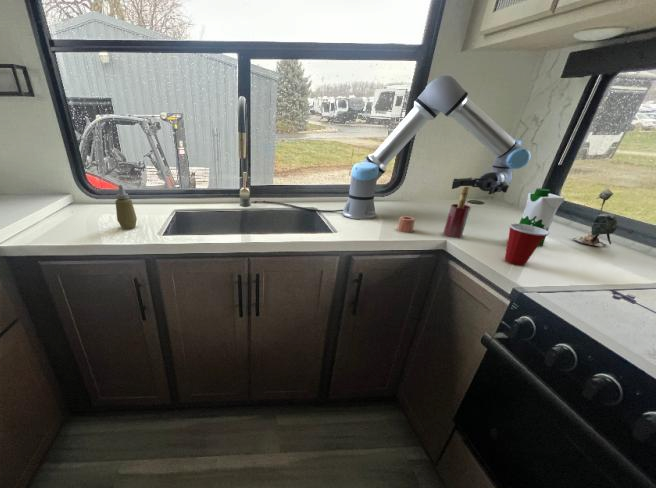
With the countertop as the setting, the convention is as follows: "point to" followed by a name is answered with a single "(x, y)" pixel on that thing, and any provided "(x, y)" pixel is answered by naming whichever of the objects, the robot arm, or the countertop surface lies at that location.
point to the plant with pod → (601, 224)
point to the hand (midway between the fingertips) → (471, 187)
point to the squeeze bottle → (125, 210)
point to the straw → (463, 197)
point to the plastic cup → (523, 242)
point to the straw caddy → (406, 224)
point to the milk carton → (541, 209)
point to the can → (456, 221)
